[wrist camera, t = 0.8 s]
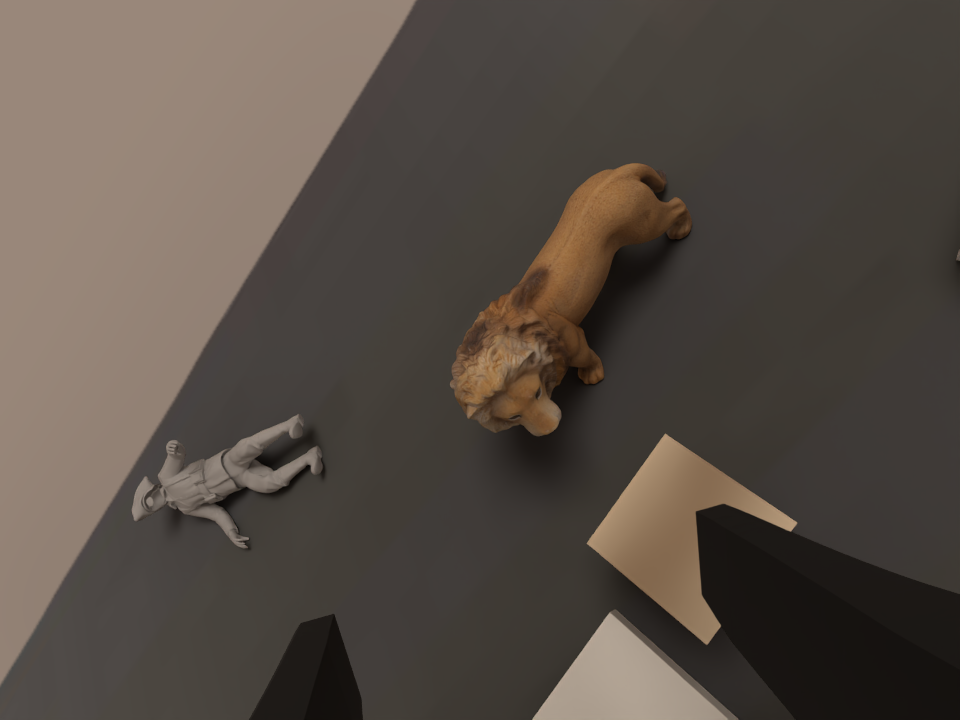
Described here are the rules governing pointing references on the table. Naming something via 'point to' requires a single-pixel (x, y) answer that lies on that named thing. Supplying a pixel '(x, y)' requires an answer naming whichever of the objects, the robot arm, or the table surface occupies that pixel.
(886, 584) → the robot arm
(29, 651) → the table surface
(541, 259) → the lion figurine
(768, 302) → the table surface
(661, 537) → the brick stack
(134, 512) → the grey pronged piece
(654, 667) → the board
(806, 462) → the table surface
